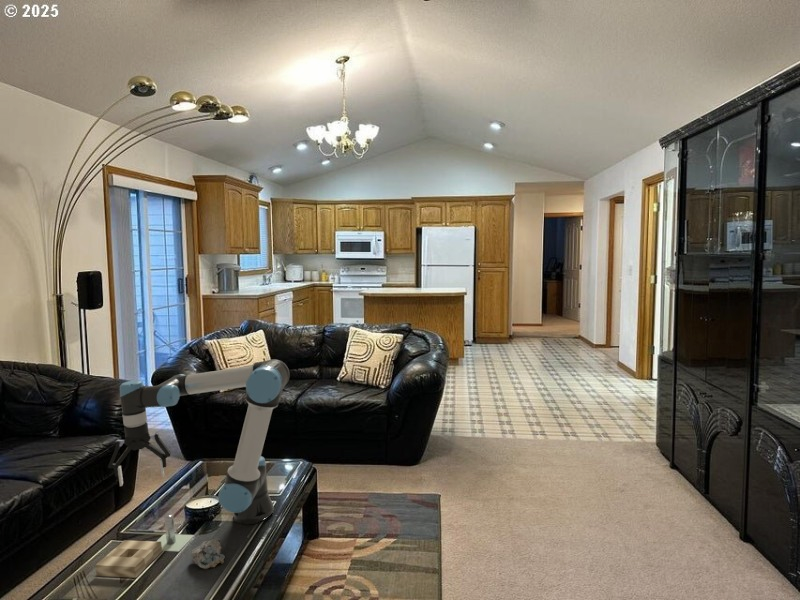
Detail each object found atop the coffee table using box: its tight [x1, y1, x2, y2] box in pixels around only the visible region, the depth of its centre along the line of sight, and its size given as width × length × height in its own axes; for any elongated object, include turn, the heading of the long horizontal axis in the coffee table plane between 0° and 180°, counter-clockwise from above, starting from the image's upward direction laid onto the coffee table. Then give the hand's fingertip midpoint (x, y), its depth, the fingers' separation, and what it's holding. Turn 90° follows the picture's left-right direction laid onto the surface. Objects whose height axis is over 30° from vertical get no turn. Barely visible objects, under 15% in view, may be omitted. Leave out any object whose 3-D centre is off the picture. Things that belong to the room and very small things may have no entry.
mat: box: [156, 533, 195, 552], centre depth 182 cm, size 12×10×1 cm
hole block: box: [95, 539, 163, 578], centre depth 170 cm, size 14×14×4 cm
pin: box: [163, 513, 176, 545], centre depth 181 cm, size 3×3×10 cm
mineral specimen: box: [190, 537, 226, 570], centre depth 169 cm, size 10×8×10 cm
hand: (142, 480), depth 185 cm, fingers open, 13 cm apart
